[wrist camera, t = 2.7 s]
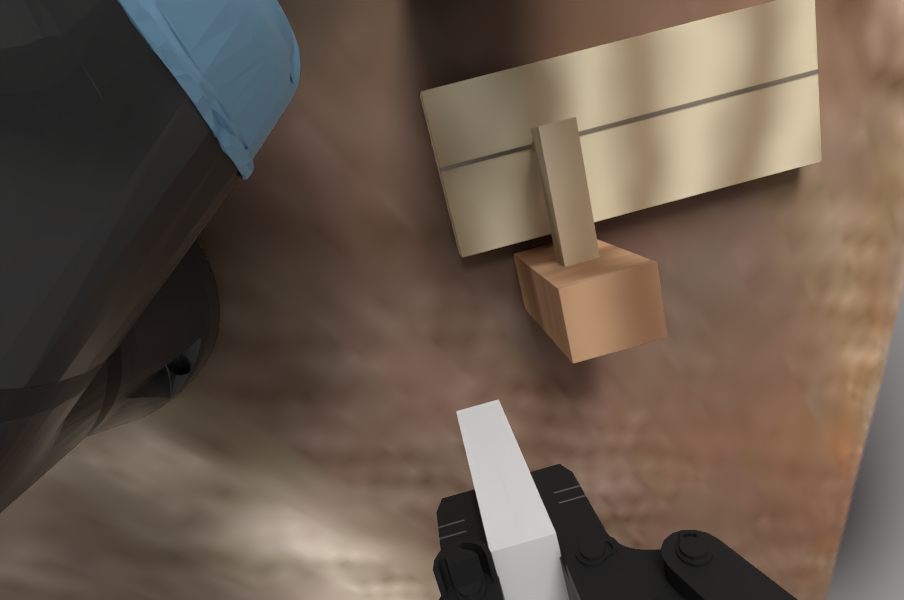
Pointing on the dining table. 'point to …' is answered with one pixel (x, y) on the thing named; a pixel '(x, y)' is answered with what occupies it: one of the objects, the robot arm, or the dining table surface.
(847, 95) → the dining table surface
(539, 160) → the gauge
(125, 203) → the robot arm
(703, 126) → the board
